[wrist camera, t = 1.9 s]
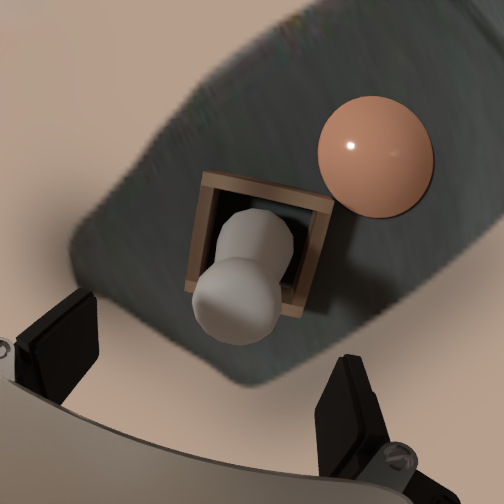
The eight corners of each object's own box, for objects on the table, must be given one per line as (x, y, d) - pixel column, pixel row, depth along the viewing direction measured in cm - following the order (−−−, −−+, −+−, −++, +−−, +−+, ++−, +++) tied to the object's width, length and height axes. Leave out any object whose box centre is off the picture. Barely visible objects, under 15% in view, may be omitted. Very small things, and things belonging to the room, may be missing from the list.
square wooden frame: (329, 195, 25) (334, 201, 22) (299, 301, 28) (300, 318, 25) (212, 169, 25) (203, 171, 22) (194, 277, 28) (184, 290, 25)
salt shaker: (220, 206, 26) (161, 254, 13) (290, 201, 25) (295, 247, 13) (228, 272, 27) (184, 364, 15) (294, 269, 27) (299, 364, 14)
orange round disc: (440, 120, 21) (442, 120, 21) (414, 229, 25) (416, 231, 24) (331, 82, 22) (332, 81, 21) (305, 199, 25) (305, 200, 24)
